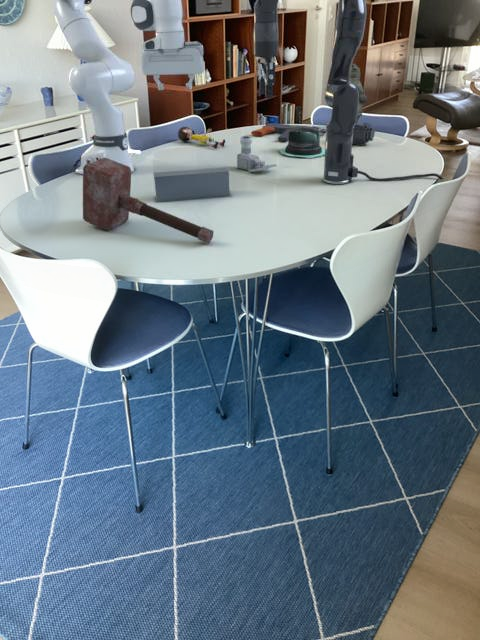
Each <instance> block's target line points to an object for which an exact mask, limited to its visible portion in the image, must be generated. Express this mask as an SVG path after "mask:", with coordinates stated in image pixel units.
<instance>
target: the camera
mask: <svg viewBox="0 0 480 640" xmlns="http://www.w3.org/2000/svg"><path fill="white" fill-rule="evenodd" d="M239 140H240V153H238V154H236V168H237V169H240V170H244V171H248V173H254V172H261V171H265V170H267V169H271V168H274V167H277V164H276V163H273V164H267V165H266V161H265V160H261V159H260V156H259V155H255V154H252V143H253V141H252V140H253V139H252V135H242V136H240V139H239Z"/></svg>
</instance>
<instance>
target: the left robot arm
mask: <svg viewBox="0 0 480 640" xmlns="http://www.w3.org/2000/svg"><path fill="white" fill-rule="evenodd" d="M92 1H93V0H56V1H54V5H53V15H54V17H55V21H56V23H57V25H58V28H59V30H60V32H61V35H62V36H63V39H64V41H65V42H66V43H67V46H68V48H69V50H70V51H71V53H72V55H73V56H74V57H75V58H76V59H78V60H80V61H82V62H84V63H81V64H79V65H76V66H74V67H72V68H71V70H70V72H69V76H68V82H69V85H70V87H71V90H72V91H73V92H74V94H76V95H77V96H78V97H80V98H81V99H82V100H83V101H84V103H85V104H86V105H87V107H88V108H89V110H90V113H91V116H92V121H93V126H94V133H95V134H93V135H92V136H90V137H89V141H92V145H91V146H90V147H88V148H87V149H86V150H85V151H84V152H83V153H82V154H81V155H80V156H79V159H77V160H76V161H75V163H73V167H77V166H78V164H79V163H80V166H79V167H77V168H76V169H75V174H79V175H83V167H84V166H85V165H86V164H89V163H92V162H94V161H97V160H100V159H102V158H108V159H111V160H113V161H116V162H118V163H121V164H123V165H126V166H129V167H130V169H131V173H133V172H134V171H135V168H134V165H133V164H132V160H131V156H130V153H132V154H141V150H139V149H138V150H137V149H129V142H128V135H127V132H126V126H125V119H124V118H125V117H124V112H123V111H122V110H121V108H120V107H118V106H116V105H114V104H113V103H112V101H111V99H110V95H113V94H119V93H122V92H125V91H127V90H129V89H131V88H133V86H134V84H135V82H136V81H135V80H136V73H135V70H134V68H133V66H132V65H131V64H130V62H128V61H127V60H124V59H122V58H121V57H119V56H118V55H116V54H115V53H114V52H112V50H110V49H109V48H108V46H106V44H105V43H104V42H103V41H102V39H101V38H100V36H99V34H98V32H97V31H96V29H95V27H94V25H93V23H92V22H91V19H90V18H89V16H88V14H87V12H86V10H85V5H90V4H92ZM184 14H185V13H184V7H183V2H182V0H132V3H131V5H130V18H131V22H132V23H133V25H134V27H136V28H137V29H138V30H139V31H144V32H151V31H155V37H153V38H150V39H148V40H146V41H144V42H142V43H141V48H142V50H143V51H142V53H141V56H140V57H141V60H140V62H141V65H140V66H141V72H142V74H143V75H144V76H153V81H155V83H156V85H157V90H158V91H164V90H165V87H164V83H162V82H161V81H160V78H161V76H166V75H167V76H169V75H188V78H189V81H188V82H186V83H185V89H186V90H192V89H193V85H192V83H193V81H194V79H195V75H201V74H203V73H204V72H205V61H204V53H205V52H204V51H205V50H204V46H203V44H202V43H200V42H199V41H198V40H197V41H196V40H195V41H186V40H185V39H186V38H185V29H184V26H183V21H184Z"/></svg>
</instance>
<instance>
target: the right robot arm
mask: <svg viewBox="0 0 480 640" xmlns="http://www.w3.org/2000/svg"><path fill="white" fill-rule="evenodd" d="M278 4H279V0H256V2H255V3H254V7H253V12H254V13H253V16H254V17H253V19H254V23H253V56H254V57H255V58H257V60H256V61H257V63H256V64H257V71H256V72H257V80H258V83H259V94H260V95H265V98H266V99H273V97H274V85H275V84H276V62H275V61H273V58H275V57H278V56H279V23H278V22H279V19H278V16H279V15H278V11H279V9H278V7H279V6H278ZM337 5H338V6H337V13H336V18H335V25H334V26H335V27H334V36H333V44H332V53H331V61H330V66H329V71H328V76H327V81H326V85H325V88H324V89H325V90H324V100H325V103H326V104H327V106H328V107H330V108H331V118H330V120H329V121H328V122H327V123H326V128H325V131H326V133H325V145H324V149H325V155H324V163H323V175H322V182H324V183H326V184H330V185H345V184H348V183H351V182H352V181H353V179H354V178H358V174H359V175H363V176H364V177H366V178H367V179H368V180H370V181H374V182H388V181H398V180H399V181H400V180H401V181H402V180H408V179H414V178H415V179H416V178H428V177H436V178H438V179H439V180H444V178H443V176H442V175H440V174H438V173H432V172H431V173H424V174H411V175H404V176H394V177H393V176H392V177H386V178H383V177H382V178H379V177H372V176H370V175H369V174H368V173H367V172H365V171H362V170H359V168H358V167H356V166H354V159H355V158H354V157H355V156H354V154H353V153H352V152H353V144H352V140H353V129H354V125H355V123H356V120H357V112H358V104H359V92H358V89H357V87H356V86H355V85H354V84H353V83H350V82H349V80H350V78H351V77H350V72H351V65H352V64H353V62H354V59H355V57H356V55H357V52H358V50H359V48H360V47H361V44H362V42H363V39H364V34H365V29H366V22H367V21H366V20H367V2H366V0H338V4H337Z"/></svg>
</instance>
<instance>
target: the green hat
mask: <svg viewBox="0 0 480 640" xmlns="http://www.w3.org/2000/svg"><path fill="white" fill-rule="evenodd" d="M316 129H317V128H316ZM316 129H311V128H298V129H294V130H291V131H289V139H288V140H287V142H288V143H287V145H286V146H285V147H283V148H281V149H280V150H279V153H280V154H282V155H285V156H289V157H296V158H297V157H298V158H307V159H309V158H310V159H311V158H313V159H314V158H317V157H323V156H325V148H322V146H321V144H320V142H321V136H320V135H321V133H320V132H319V131H318V130H319V129H318V130H316Z"/></svg>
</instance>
